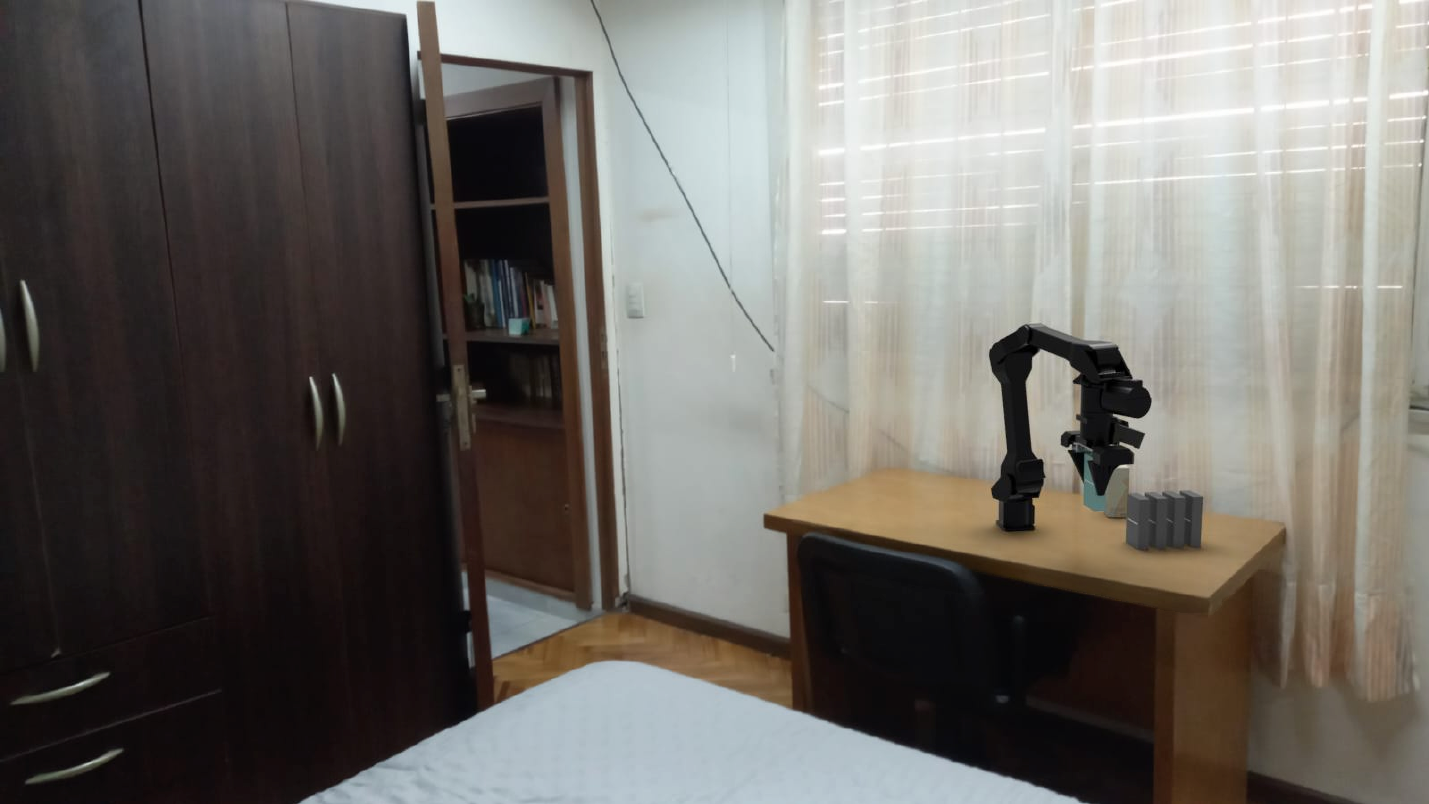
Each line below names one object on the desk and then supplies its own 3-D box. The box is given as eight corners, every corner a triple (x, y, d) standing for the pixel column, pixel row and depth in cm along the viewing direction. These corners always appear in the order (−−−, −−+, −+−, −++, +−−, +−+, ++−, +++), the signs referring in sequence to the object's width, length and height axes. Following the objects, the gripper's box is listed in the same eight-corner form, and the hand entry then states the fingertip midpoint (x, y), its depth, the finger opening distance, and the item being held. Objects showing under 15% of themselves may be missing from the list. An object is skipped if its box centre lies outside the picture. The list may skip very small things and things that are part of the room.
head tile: (1094, 511, 178) (1095, 459, 176) (1083, 504, 183) (1084, 453, 181) (1105, 511, 178) (1106, 458, 176) (1093, 503, 183) (1095, 452, 181)
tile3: (1155, 548, 185) (1157, 499, 184) (1142, 541, 190) (1144, 492, 189) (1165, 548, 186) (1167, 498, 184) (1153, 540, 190) (1154, 491, 189)
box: (1128, 518, 206) (1130, 468, 204) (1107, 517, 207) (1108, 468, 205) (1123, 511, 211) (1124, 462, 209) (1102, 511, 212) (1104, 462, 210)
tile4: (1173, 547, 186) (1175, 498, 184) (1160, 540, 191) (1162, 491, 189) (1183, 547, 186) (1185, 497, 184) (1170, 539, 191) (1172, 491, 189)
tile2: (1137, 549, 185) (1139, 499, 184) (1125, 541, 190) (1127, 493, 189) (1148, 549, 185) (1149, 499, 184) (1135, 541, 190) (1137, 492, 189)
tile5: (1190, 547, 186) (1192, 497, 184) (1177, 539, 191) (1179, 490, 189) (1201, 546, 186) (1203, 496, 184) (1187, 538, 191) (1189, 490, 189)
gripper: (1164, 417, 168) (1161, 503, 171) (1116, 400, 187) (1114, 478, 189) (1102, 420, 168) (1100, 506, 170) (1060, 403, 186) (1058, 480, 189)
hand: (1094, 492), depth 180 cm, fingers closed on head tile, 5 cm apart
